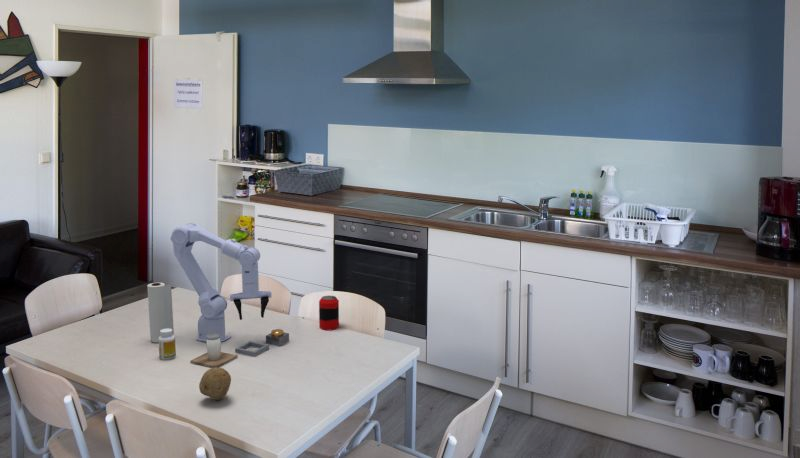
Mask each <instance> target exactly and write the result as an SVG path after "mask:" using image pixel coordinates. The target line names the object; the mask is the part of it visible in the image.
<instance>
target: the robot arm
mask: <svg viewBox="0 0 800 458" xmlns="http://www.w3.org/2000/svg"><path fill="white" fill-rule="evenodd" d="M169 239H170V240H171V241H170V242H172V247H173V253H174V256H175V258H176V260H177V261H178V263H179V265H180V266H181V268H182V269H183V271H184V273H185V275H186V276H187V278H188V280H189V281H190V283H191V286H192V287H193V288H194V290H195V292H196V293H197V295H198V302H197V303H198V306H199V309H200V313H201V316H200V317H199V318H198V321H197V336H198V337H197V338H196V340H197V341H200V342H204V343H205V342H206V343H207V339H206V335H208V334H212V333H218V334H220V343H222V342H223V341H227V340H228V339H231V335H226V320H225V319H226V315H225V311H226V309H227V307H228V301H227V299H226V298H225V297H224V296H223V295H222V294H221V293H220V292H219V291H218V290H216V289H215V288H213V286H212V285H211V283H210V282H209V280H208V278H207V277H206V275H205V273H204V272H203V270H202V268H201V267H200V264H199V263H198V262H197V260H196V258H195V256H194V254H193V253H192V250H193V247H194V244H195V243H196V242H202V243H205V244H208V245H211V246H213V247H216V248H218V249H219V250H221V253H222V254H223V255H226V256H228V257H229V258H232V259H234V260H237V261H238V263H239V264H240V265H241V282H242V284H241V285H242V288H241V289H242V292H237V293H232V294H229V300H230V302H233V304H234V306H235V307H236V310H237V312H238V316H239V320H243V314H242V300H252V299H260V318H264V317H265V313H266V312H265V311H266V308H267V306H268V303H269V302H270V298H272V296H273V295H272V291H271V290H262V291H261V290H260V289H259V288H260V287H259V286H260V285H259V262H258V261H259V260H260V258H261V253H260V251H259V250H258V248H256V247H255V246H250V247H249V246H248V245H246V244H245V245H244V244H242V243H239V242H237V240H236V239H235V238H232V239H231V238H228V239H224V238H221V237H220V236H217V235H216V234H214V233H212V232H210V231H208V230H207V229H204V228H203V227H202V226H201V225H197V224H196V223H193V222H190V223H187V224H185V225H182V226H179V227H176V228H175V229H173V231H172V233H171V236H170V238H169Z"/></svg>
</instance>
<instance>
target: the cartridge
mask: <svg viewBox="0 0 800 458" xmlns="http://www.w3.org/2000/svg"><path fill="white" fill-rule="evenodd" d="M206 339H207V342H206V353H207V357H208V360H218V359H220V358H221V352H222V350H221V342H220V334H218V333H212V334H208V335H206Z"/></svg>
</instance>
